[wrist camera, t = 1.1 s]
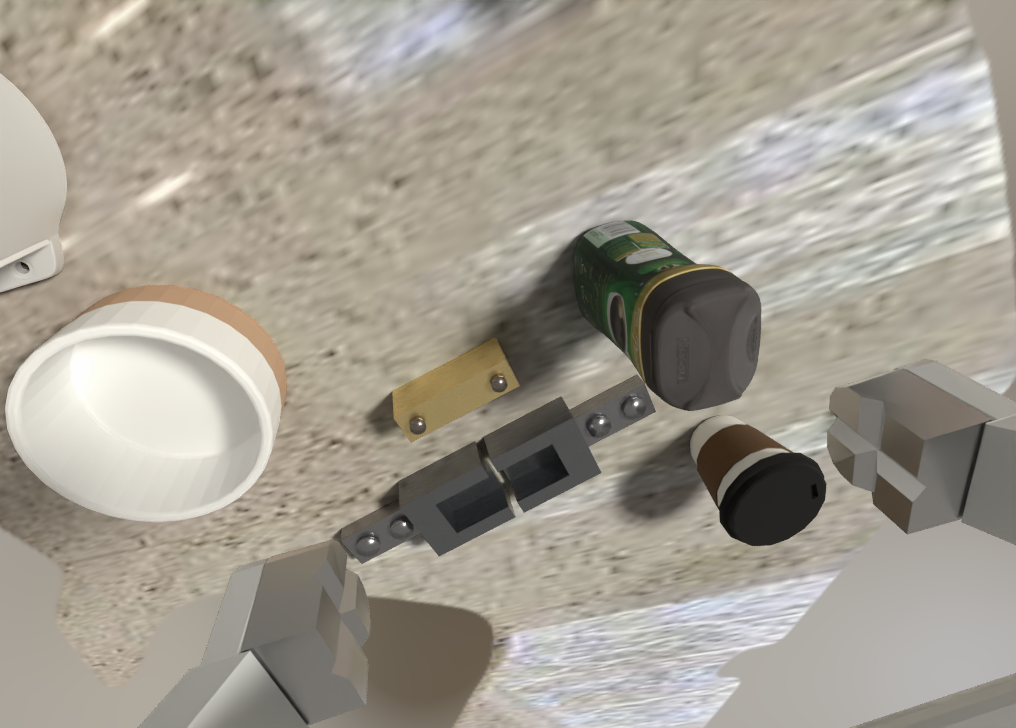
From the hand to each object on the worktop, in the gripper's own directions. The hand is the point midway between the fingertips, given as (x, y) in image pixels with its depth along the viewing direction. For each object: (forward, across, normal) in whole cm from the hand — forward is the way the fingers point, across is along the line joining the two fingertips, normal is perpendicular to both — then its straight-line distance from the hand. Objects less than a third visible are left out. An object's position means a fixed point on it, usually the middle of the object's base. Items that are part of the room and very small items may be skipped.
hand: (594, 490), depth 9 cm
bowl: (+39, +26, +12) cm, 49 cm away
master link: (+40, +4, +19) cm, 45 cm away
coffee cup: (+41, -22, +37) cm, 59 cm away
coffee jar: (+41, -13, +13) cm, 45 cm away
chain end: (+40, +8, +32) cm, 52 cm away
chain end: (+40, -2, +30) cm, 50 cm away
